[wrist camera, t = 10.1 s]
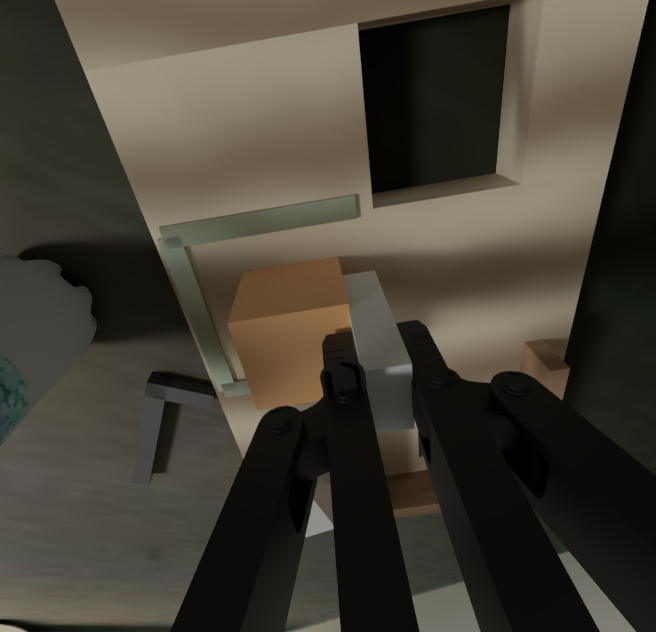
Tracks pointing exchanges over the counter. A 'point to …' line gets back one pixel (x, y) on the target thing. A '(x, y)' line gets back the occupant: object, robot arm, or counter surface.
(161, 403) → the crook tool
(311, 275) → the cube
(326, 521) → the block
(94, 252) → the counter surface
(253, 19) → the board
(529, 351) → the cubby
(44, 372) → the bottle
